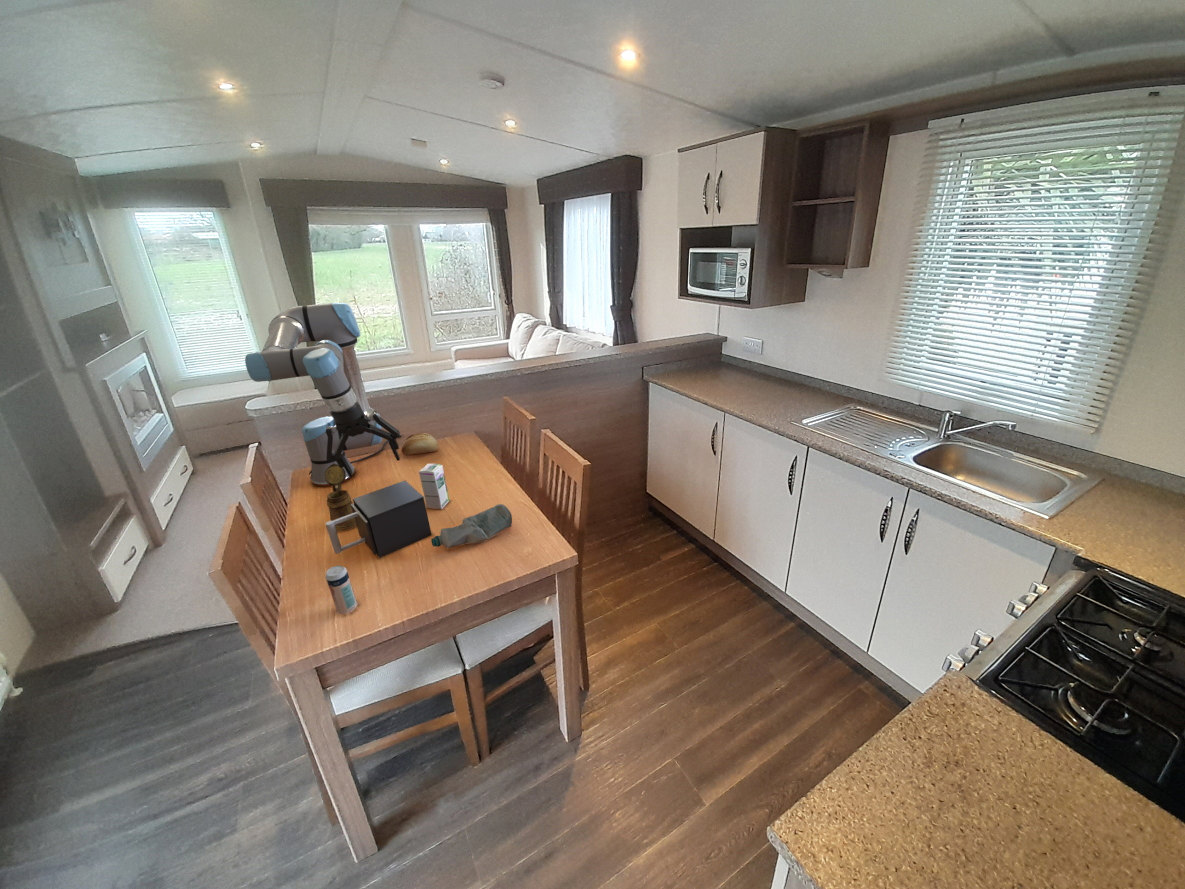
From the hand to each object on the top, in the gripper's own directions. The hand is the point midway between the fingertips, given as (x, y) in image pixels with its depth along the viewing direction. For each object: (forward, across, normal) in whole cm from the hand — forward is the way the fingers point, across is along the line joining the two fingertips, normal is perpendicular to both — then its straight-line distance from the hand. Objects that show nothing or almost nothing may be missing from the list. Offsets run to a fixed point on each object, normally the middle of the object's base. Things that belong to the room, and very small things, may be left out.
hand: (374, 466), depth 140 cm
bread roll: (+34, +9, +52) cm, 62 cm away
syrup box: (+27, +11, +6) cm, 30 cm away
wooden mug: (+23, -17, +9) cm, 30 cm away
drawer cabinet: (+22, -2, -8) cm, 24 cm away
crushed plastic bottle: (+24, +19, -18) cm, 36 cm away
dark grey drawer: (+20, -7, -9) cm, 23 cm away
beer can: (+16, -15, -34) cm, 41 cm away
